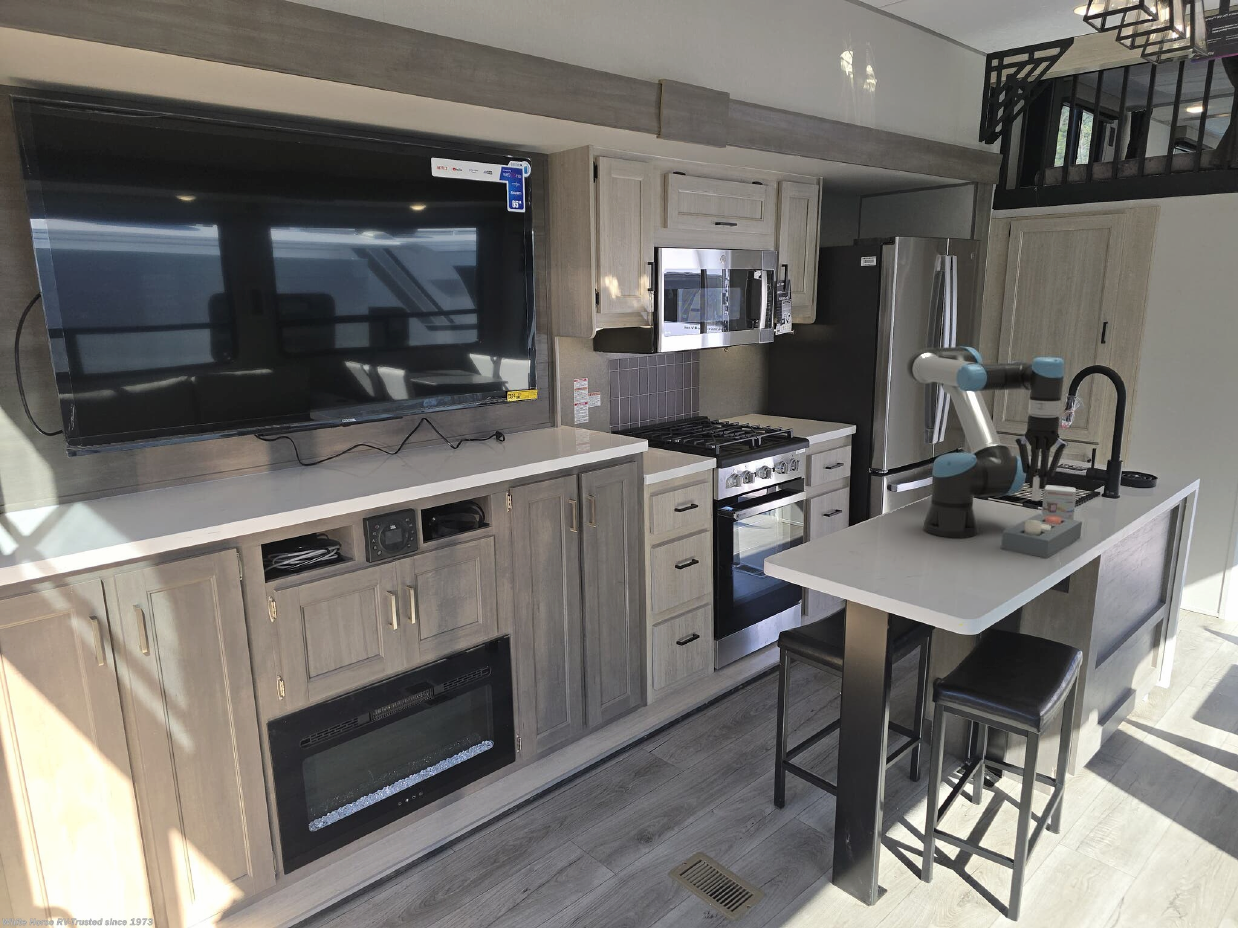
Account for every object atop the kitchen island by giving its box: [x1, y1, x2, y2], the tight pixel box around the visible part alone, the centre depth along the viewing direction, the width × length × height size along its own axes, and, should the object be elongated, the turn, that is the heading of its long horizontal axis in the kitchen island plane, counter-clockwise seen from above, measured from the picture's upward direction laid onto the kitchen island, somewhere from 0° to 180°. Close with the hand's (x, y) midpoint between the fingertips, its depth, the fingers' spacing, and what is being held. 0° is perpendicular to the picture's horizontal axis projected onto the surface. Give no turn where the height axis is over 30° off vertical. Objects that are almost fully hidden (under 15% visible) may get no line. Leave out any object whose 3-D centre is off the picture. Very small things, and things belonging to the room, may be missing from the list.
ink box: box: [1041, 484, 1077, 520], centre depth 240 cm, size 8×5×12 cm, turn 62°
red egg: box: [1045, 516, 1061, 524], centre depth 229 cm, size 4×4×5 cm
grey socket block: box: [1001, 513, 1083, 559], centre depth 224 cm, size 25×12×5 cm, turn 132°
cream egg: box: [1041, 524, 1051, 530], centre depth 224 cm, size 4×4×5 cm
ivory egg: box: [1024, 519, 1042, 536], centre depth 219 cm, size 4×4×5 cm
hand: (1036, 499), depth 217 cm, fingers closed
